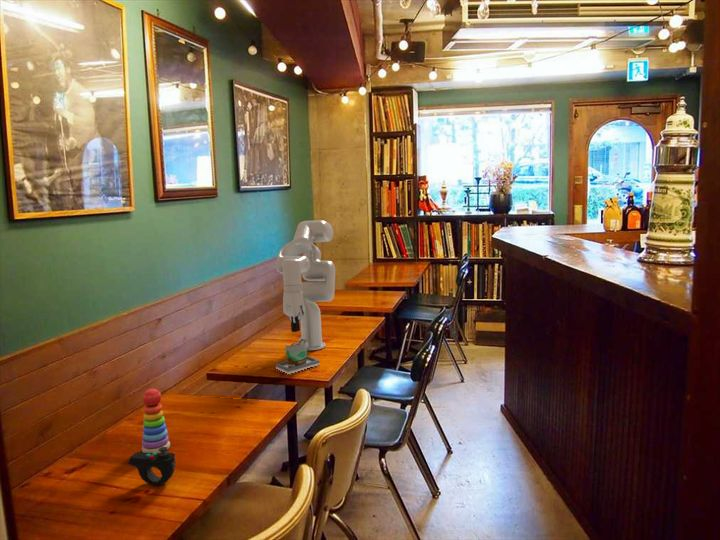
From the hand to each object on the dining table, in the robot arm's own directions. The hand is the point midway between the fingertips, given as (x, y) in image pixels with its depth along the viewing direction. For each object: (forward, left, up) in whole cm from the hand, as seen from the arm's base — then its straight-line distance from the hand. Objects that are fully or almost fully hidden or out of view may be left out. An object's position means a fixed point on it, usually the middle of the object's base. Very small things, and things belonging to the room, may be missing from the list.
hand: (295, 331), depth 230 cm
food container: (+2, 0, -15) cm, 15 cm away
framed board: (0, 0, -16) cm, 16 cm away
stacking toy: (+32, -71, -16) cm, 79 cm away
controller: (+51, -78, -16) cm, 94 cm away
